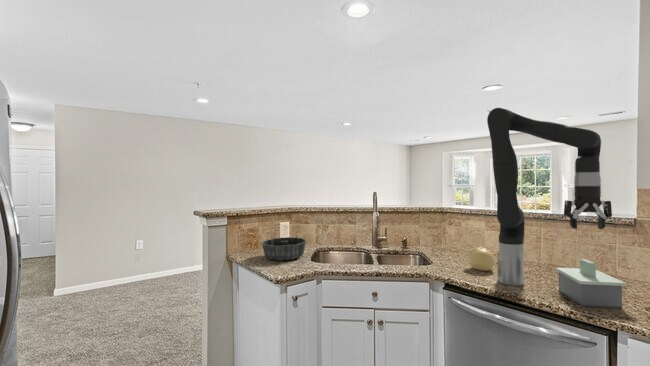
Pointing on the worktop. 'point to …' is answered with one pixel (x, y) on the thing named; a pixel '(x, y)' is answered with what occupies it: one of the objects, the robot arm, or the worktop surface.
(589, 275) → the lid
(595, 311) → the worktop surface
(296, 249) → the bundt pan
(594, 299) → the tub
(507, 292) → the worktop surface
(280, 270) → the worktop surface
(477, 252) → the sculpture
